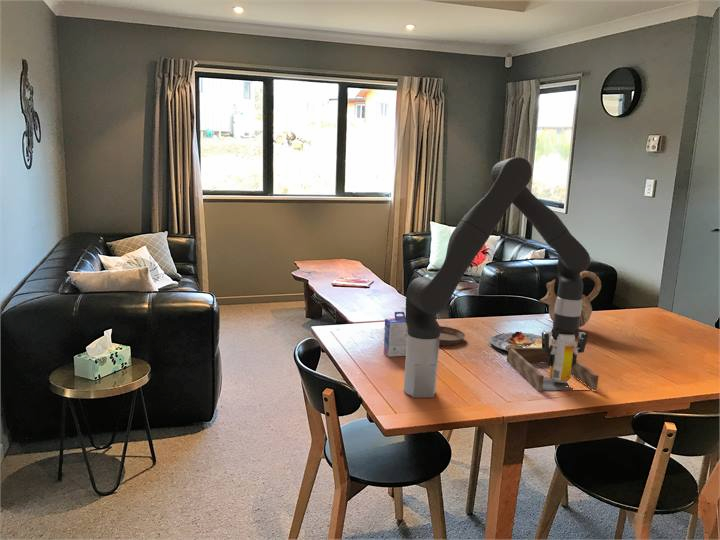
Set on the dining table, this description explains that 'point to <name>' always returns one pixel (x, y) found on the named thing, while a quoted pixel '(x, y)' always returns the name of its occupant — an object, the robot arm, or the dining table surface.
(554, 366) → the beer can
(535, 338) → the food plate
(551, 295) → the ceramic vessel
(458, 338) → the plant saucer
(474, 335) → the dining table surface
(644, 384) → the dining table surface
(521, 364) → the bay
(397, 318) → the ink cartridge box
